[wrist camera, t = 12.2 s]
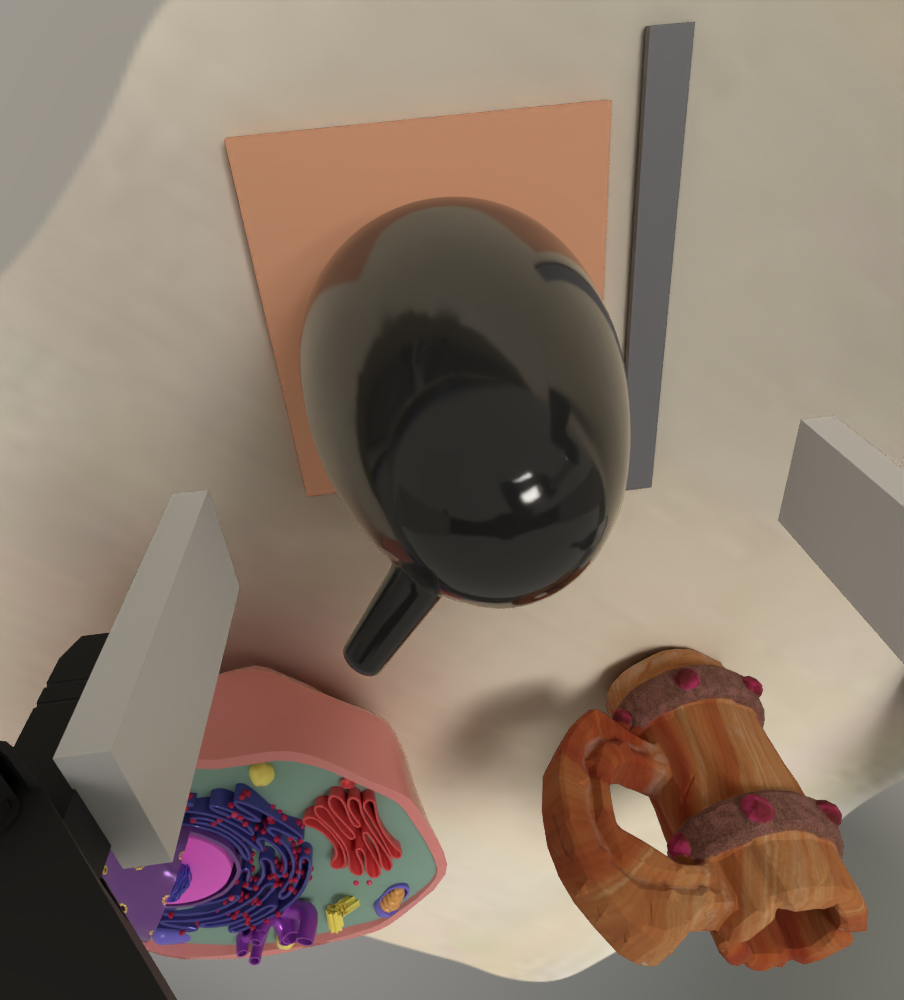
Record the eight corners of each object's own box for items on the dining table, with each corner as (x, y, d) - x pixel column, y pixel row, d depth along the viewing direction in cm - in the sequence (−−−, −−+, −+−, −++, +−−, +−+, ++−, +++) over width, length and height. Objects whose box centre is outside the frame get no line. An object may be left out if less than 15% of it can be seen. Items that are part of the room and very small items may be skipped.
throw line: (689, 22, 23) (694, 21, 22) (648, 482, 33) (651, 487, 32) (646, 26, 23) (650, 25, 22) (617, 486, 32) (620, 491, 32)
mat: (606, 99, 24) (611, 100, 23) (593, 453, 31) (596, 459, 31) (227, 137, 23) (224, 139, 22) (307, 489, 31) (306, 496, 30)
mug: (768, 644, 40) (959, 915, 27) (698, 736, 44) (836, 1010, 31) (539, 598, 36) (638, 890, 23) (484, 703, 40) (543, 1002, 27)
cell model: (360, 839, 45) (360, 1044, 36) (33, 775, 39) (-72, 1007, 29) (487, 669, 38) (530, 870, 29) (114, 554, 31) (8, 767, 22)
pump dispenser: (249, 341, 26) (146, 605, 13) (430, 109, 23) (522, 168, 10) (445, 484, 31) (508, 785, 18) (622, 308, 27) (854, 526, 14)
